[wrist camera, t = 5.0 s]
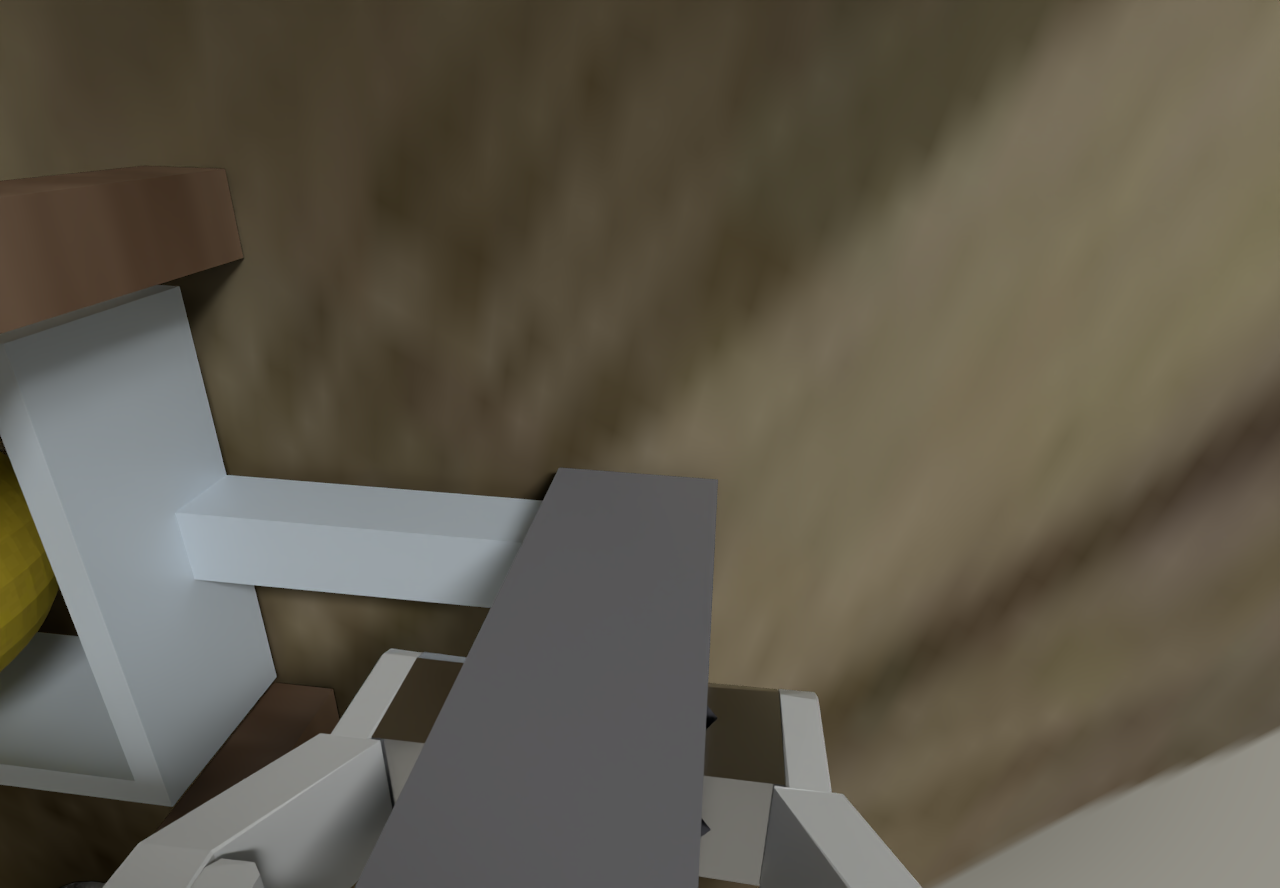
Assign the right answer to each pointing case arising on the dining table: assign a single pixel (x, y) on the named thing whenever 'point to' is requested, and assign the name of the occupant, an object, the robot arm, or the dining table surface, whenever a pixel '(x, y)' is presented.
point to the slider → (368, 566)
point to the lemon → (20, 570)
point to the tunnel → (115, 266)
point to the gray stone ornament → (85, 885)
